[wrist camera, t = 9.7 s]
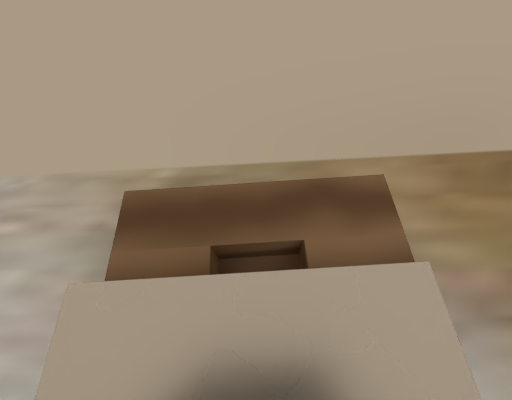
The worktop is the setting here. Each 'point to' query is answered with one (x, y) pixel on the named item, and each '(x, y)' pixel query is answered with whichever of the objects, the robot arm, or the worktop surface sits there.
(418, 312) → the aluminium bar
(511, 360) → the worktop surface
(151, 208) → the walnut pocket block
